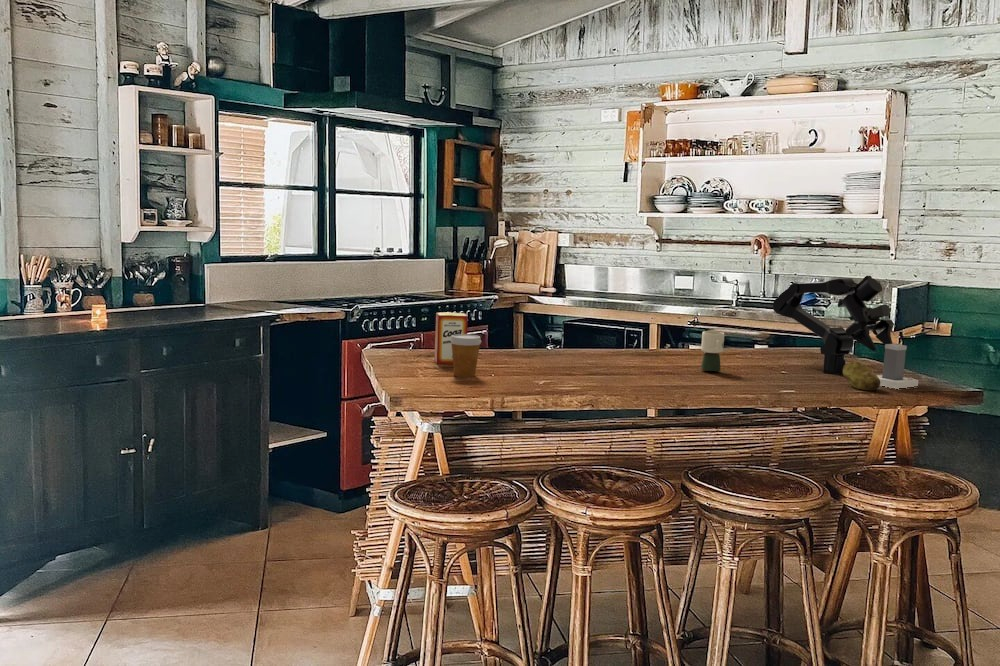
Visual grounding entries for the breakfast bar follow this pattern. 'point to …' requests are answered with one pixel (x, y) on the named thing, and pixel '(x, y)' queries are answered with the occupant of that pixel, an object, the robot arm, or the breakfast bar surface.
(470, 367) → the disposable coffee cup
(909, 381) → the socket
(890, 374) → the grey tall block
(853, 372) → the potato
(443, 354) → the baking soda box
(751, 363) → the breakfast bar surface
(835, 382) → the breakfast bar surface
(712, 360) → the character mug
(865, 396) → the breakfast bar surface
